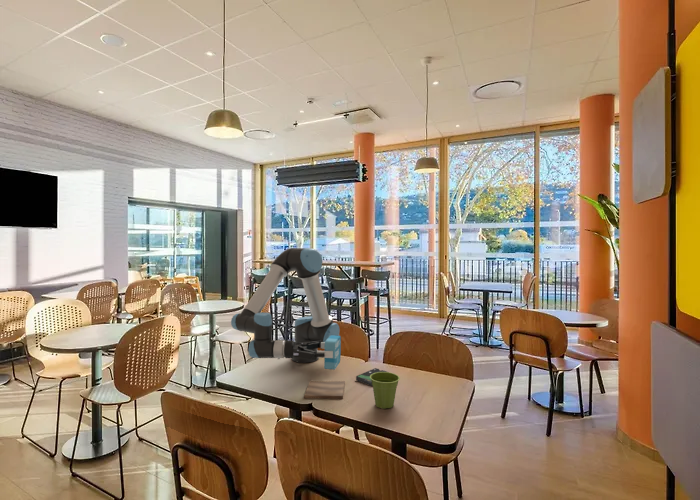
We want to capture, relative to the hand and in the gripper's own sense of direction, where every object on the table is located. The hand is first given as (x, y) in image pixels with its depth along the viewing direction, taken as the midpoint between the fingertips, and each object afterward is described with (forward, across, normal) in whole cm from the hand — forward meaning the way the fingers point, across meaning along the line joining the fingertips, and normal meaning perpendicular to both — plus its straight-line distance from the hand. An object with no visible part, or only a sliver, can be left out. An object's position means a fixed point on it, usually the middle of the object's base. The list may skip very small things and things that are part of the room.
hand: (334, 349), depth 155 cm
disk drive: (+18, -14, -19) cm, 30 cm away
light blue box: (-1, 0, -7) cm, 7 cm away
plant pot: (+21, +13, -18) cm, 31 cm away
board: (-4, 0, -18) cm, 18 cm away
